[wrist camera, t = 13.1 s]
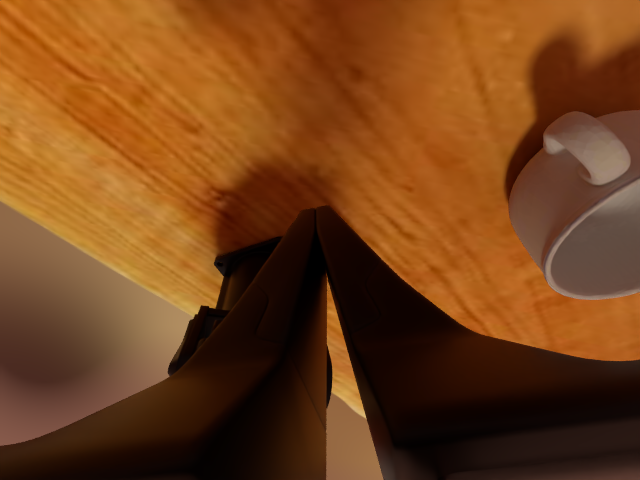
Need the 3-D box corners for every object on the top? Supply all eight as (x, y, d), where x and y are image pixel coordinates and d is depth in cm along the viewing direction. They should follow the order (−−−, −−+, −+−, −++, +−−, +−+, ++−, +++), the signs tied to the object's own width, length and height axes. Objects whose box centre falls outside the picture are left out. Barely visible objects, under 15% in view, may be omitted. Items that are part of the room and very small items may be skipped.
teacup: (653, 181, 24) (777, 251, 17) (510, 250, 28) (570, 327, 21) (639, 0, 16) (847, 10, 10) (447, 130, 20) (512, 194, 14)
